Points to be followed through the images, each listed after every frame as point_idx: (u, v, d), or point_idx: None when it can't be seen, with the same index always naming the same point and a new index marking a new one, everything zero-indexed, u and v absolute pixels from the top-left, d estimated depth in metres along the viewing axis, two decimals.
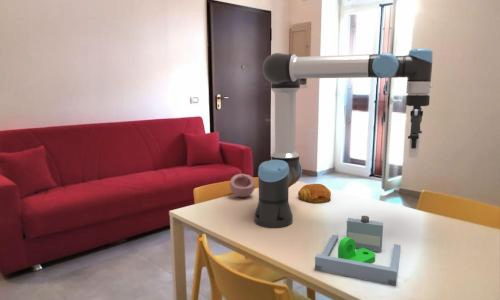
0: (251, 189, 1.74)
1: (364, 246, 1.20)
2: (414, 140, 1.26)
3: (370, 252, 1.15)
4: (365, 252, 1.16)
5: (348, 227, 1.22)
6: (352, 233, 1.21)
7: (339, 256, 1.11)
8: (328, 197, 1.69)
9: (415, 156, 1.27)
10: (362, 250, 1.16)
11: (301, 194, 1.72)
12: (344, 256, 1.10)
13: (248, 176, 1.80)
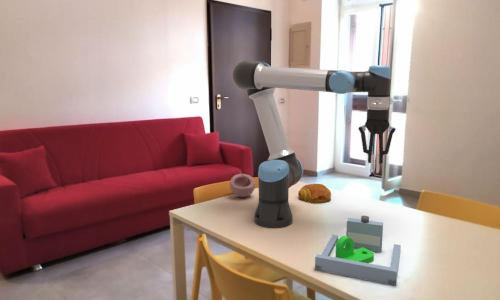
0: (251, 189, 1.74)
1: (364, 246, 1.20)
2: None
3: (369, 252, 1.15)
4: (364, 252, 1.16)
5: (348, 227, 1.22)
6: (352, 233, 1.21)
7: (337, 254, 1.12)
8: (328, 197, 1.69)
9: None
10: (361, 250, 1.17)
11: (301, 194, 1.72)
12: (342, 254, 1.11)
13: (248, 176, 1.80)
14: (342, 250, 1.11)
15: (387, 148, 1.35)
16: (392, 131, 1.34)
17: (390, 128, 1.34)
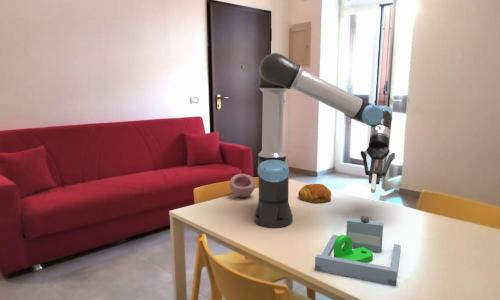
0: (251, 189, 1.74)
1: (364, 246, 1.20)
2: None
3: (368, 251, 1.15)
4: (364, 251, 1.16)
5: (348, 227, 1.22)
6: (352, 233, 1.21)
7: (335, 253, 1.13)
8: (328, 197, 1.69)
9: None
10: (361, 249, 1.17)
11: (301, 194, 1.72)
12: (340, 253, 1.12)
13: (248, 176, 1.80)
14: (340, 249, 1.12)
15: (385, 168, 1.39)
16: (392, 155, 1.41)
17: (390, 154, 1.43)
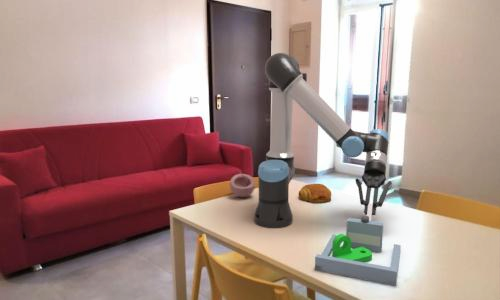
0: (251, 189, 1.74)
1: (364, 246, 1.20)
2: (365, 206, 1.32)
3: (368, 251, 1.16)
4: (363, 251, 1.16)
5: (348, 227, 1.22)
6: (352, 233, 1.21)
7: (333, 252, 1.14)
8: (328, 197, 1.69)
9: None
10: (361, 249, 1.17)
11: (301, 194, 1.72)
12: (338, 252, 1.13)
13: (248, 176, 1.80)
14: (338, 248, 1.12)
15: (381, 198, 1.31)
16: (388, 183, 1.33)
17: (386, 182, 1.35)
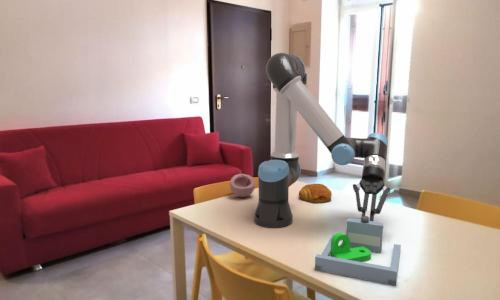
0: (251, 189, 1.74)
1: (364, 246, 1.20)
2: (362, 213, 1.27)
3: (367, 251, 1.16)
4: (362, 250, 1.17)
5: (348, 227, 1.21)
6: (352, 233, 1.21)
7: (331, 250, 1.15)
8: (329, 197, 1.69)
9: None
10: (360, 248, 1.18)
11: (302, 194, 1.72)
12: (336, 250, 1.14)
13: (248, 176, 1.80)
14: (336, 246, 1.14)
15: (379, 205, 1.26)
16: (387, 190, 1.28)
17: (385, 188, 1.30)
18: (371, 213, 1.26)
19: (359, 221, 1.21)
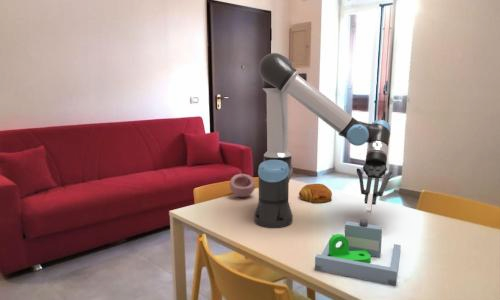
0: (251, 189, 1.74)
1: None
2: (365, 195, 1.34)
3: (367, 255, 1.13)
4: (363, 254, 1.14)
5: (346, 231, 1.18)
6: (350, 237, 1.18)
7: (329, 251, 1.14)
8: (329, 197, 1.69)
9: None
10: (361, 252, 1.15)
11: (302, 194, 1.72)
12: (333, 251, 1.13)
13: (248, 176, 1.80)
14: (333, 247, 1.13)
15: (382, 188, 1.32)
16: (389, 173, 1.35)
17: (387, 172, 1.36)
18: (374, 195, 1.32)
19: (357, 225, 1.18)
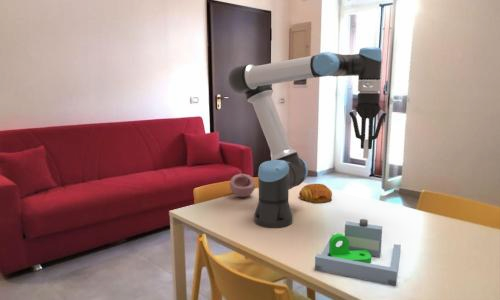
0: (251, 189, 1.74)
1: None
2: None
3: (367, 255, 1.13)
4: (363, 254, 1.14)
5: (346, 231, 1.18)
6: (350, 237, 1.18)
7: (329, 250, 1.15)
8: (329, 197, 1.69)
9: (363, 156, 1.36)
10: (362, 252, 1.15)
11: (302, 194, 1.72)
12: (333, 251, 1.14)
13: (248, 176, 1.80)
14: (333, 246, 1.13)
15: (376, 133, 1.32)
16: (383, 115, 1.30)
17: (381, 112, 1.31)
18: (369, 141, 1.34)
19: (358, 224, 1.18)
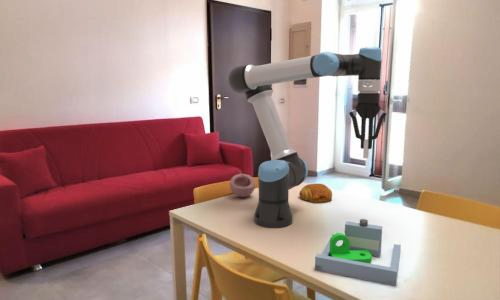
0: (251, 189, 1.74)
1: None
2: None
3: (368, 255, 1.13)
4: (364, 254, 1.14)
5: (346, 231, 1.19)
6: (350, 237, 1.18)
7: (330, 249, 1.16)
8: (329, 197, 1.69)
9: (363, 156, 1.36)
10: (363, 252, 1.15)
11: (302, 194, 1.72)
12: (333, 250, 1.14)
13: (248, 176, 1.80)
14: (333, 246, 1.14)
15: (376, 133, 1.32)
16: (383, 115, 1.30)
17: (381, 112, 1.31)
18: (369, 141, 1.34)
19: (358, 224, 1.18)
